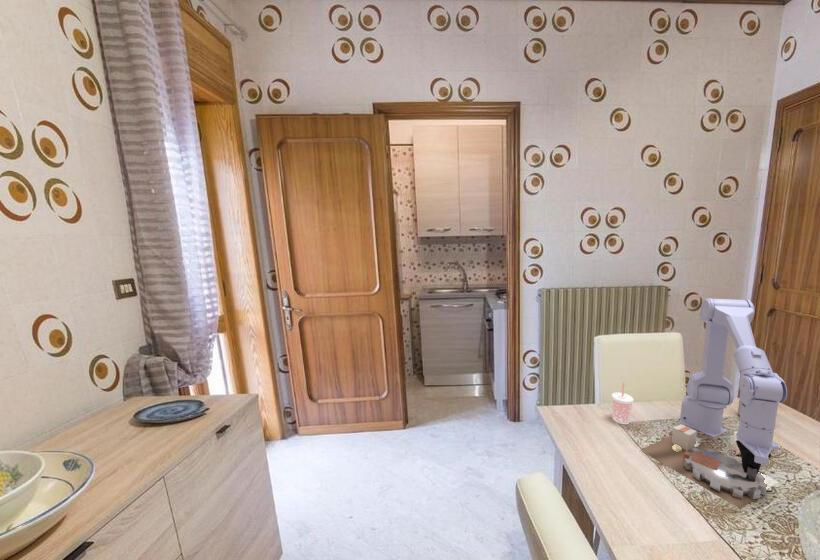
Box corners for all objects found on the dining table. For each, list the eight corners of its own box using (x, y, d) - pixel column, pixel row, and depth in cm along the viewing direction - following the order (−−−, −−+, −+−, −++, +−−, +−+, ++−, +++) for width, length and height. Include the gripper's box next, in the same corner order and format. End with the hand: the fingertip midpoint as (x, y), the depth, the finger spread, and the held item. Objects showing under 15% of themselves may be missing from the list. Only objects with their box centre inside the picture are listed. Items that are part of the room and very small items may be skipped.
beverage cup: (623, 429, 104) (626, 389, 102) (605, 419, 109) (608, 381, 107) (635, 424, 106) (639, 384, 104) (617, 414, 112) (620, 377, 110)
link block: (671, 442, 96) (673, 427, 95) (679, 439, 97) (681, 423, 96) (687, 450, 92) (689, 434, 91) (695, 446, 94) (697, 430, 93)
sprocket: (674, 449, 93) (676, 432, 92) (744, 462, 87) (747, 445, 86) (696, 488, 79) (698, 469, 78) (781, 507, 73) (784, 487, 72)
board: (639, 451, 93) (640, 450, 93) (678, 433, 101) (678, 432, 100) (740, 511, 73) (740, 508, 73) (779, 483, 80) (779, 481, 80)
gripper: (792, 445, 69) (782, 500, 71) (772, 413, 81) (764, 461, 83) (745, 434, 73) (738, 486, 76) (732, 405, 85) (726, 451, 87)
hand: (749, 472), depth 79 cm, fingers closed, pressing on sprocket
